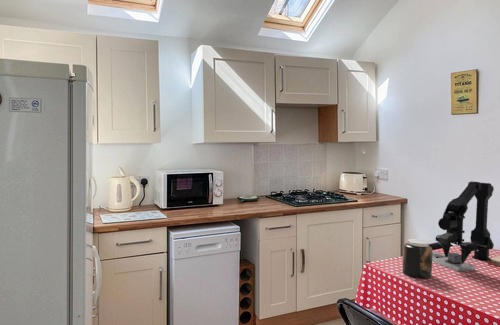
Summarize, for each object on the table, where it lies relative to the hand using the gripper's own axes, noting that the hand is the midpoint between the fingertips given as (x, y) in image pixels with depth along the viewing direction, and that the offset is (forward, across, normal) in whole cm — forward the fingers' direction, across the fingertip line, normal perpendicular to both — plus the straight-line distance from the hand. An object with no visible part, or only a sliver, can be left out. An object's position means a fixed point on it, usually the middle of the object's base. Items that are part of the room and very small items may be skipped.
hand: (454, 259), depth 173 cm
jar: (+3, +5, -27) cm, 28 cm away
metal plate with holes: (+3, -5, 0) cm, 6 cm away
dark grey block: (+3, 0, 0) cm, 3 cm away
